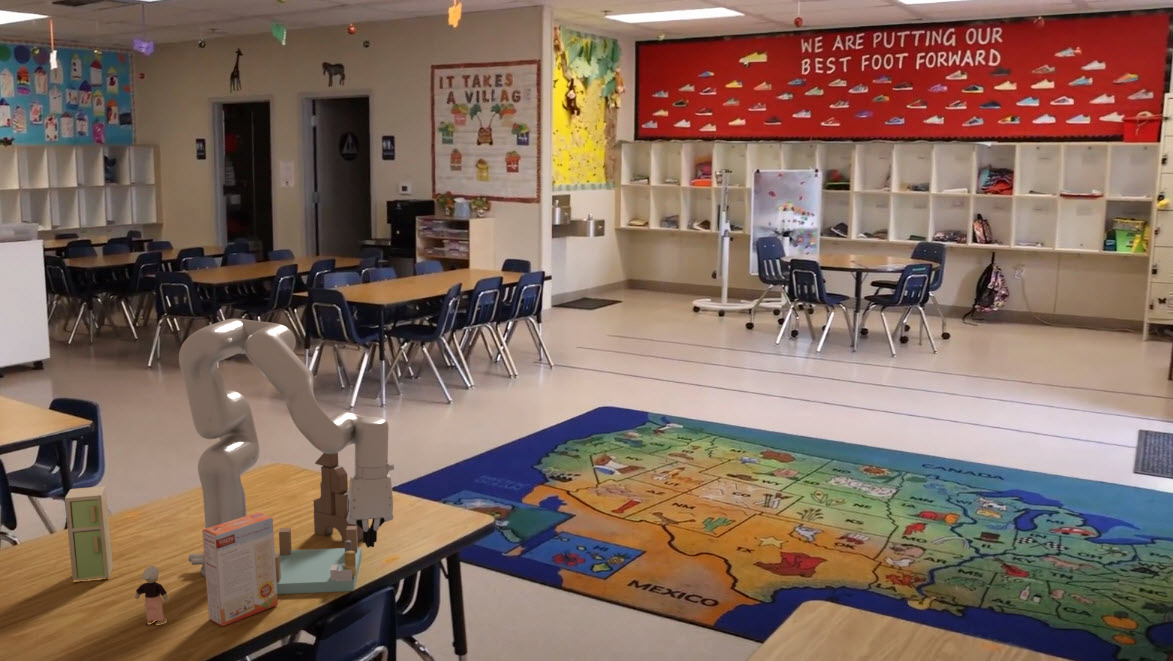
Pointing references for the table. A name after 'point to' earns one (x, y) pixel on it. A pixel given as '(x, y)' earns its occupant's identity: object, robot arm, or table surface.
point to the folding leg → (350, 558)
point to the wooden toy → (332, 499)
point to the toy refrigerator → (89, 533)
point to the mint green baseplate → (314, 566)
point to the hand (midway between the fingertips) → (369, 545)
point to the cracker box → (240, 568)
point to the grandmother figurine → (152, 595)
